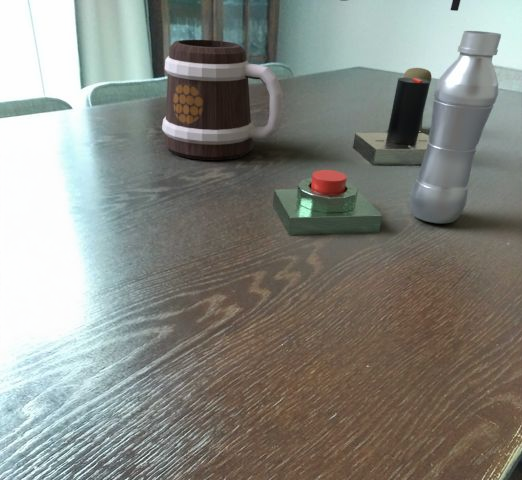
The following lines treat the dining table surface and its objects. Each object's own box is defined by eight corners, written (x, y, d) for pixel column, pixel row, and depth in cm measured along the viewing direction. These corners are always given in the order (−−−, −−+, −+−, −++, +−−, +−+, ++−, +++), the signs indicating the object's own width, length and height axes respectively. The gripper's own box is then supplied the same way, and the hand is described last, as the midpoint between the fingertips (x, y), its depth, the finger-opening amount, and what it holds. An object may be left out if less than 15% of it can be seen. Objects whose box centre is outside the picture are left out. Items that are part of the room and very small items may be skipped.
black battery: (382, 136, 85) (393, 74, 79) (409, 136, 85) (422, 75, 80) (393, 144, 81) (406, 80, 75) (421, 144, 82) (436, 81, 76)
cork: (424, 135, 97) (439, 71, 90) (394, 133, 97) (407, 70, 90) (416, 127, 102) (430, 66, 95) (388, 126, 102) (399, 65, 95)
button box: (354, 204, 65) (359, 174, 63) (379, 233, 58) (386, 199, 56) (272, 206, 63) (274, 174, 61) (288, 235, 56) (291, 201, 54)
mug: (145, 152, 78) (135, 42, 69) (189, 132, 90) (186, 35, 81) (262, 173, 73) (268, 57, 64) (293, 148, 85) (302, 47, 76)
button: (338, 184, 60) (340, 169, 59) (349, 195, 57) (351, 180, 56) (307, 184, 60) (308, 169, 59) (316, 196, 57) (317, 181, 56)
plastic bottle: (463, 232, 60) (525, 38, 47) (406, 226, 60) (453, 32, 48) (455, 213, 65) (510, 32, 53) (403, 207, 65) (445, 27, 53)
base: (420, 147, 90) (424, 132, 88) (446, 164, 82) (451, 148, 80) (352, 147, 87) (355, 131, 86) (373, 165, 80) (376, 147, 78)
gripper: (313, -272, 48) (291, -4, 61) (595, -286, 42) (504, 15, 55) (332, -244, 54) (308, -4, 66) (583, -253, 47) (503, 13, 60)
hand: (397, 5), depth 60 cm, fingers open, 13 cm apart
